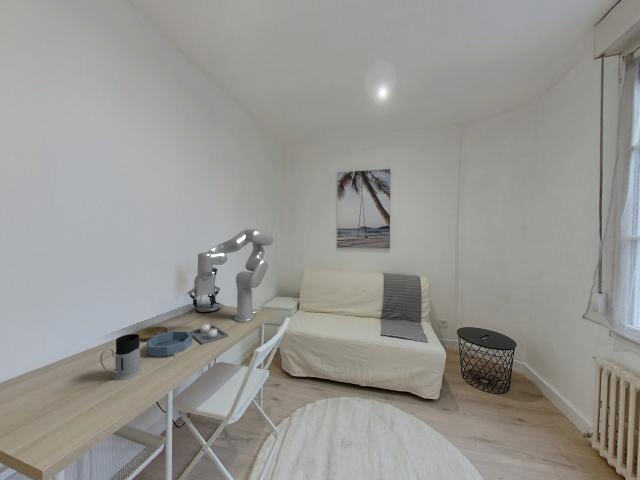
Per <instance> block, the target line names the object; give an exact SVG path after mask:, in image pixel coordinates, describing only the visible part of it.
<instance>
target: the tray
mask: <svg viewBox="0 0 640 480" xmlns="http://www.w3.org/2000/svg"><path fill="white" fill-rule="evenodd" d="M210 329H217V337H216V338H213V339H210V340H208V339H207V334H201V333H200V328H198V329H197V328H196V329H194V330H189V331H188V332H189V333H190V334H191V335H192V338H194V339H195V340H196V341H197V342H198V343H199V344H201V345H206V344H208V343H212V342H215V341H219V340H222V339H225V338H229V334H228V333H227V332H225V331H224V330H222V329H221V328H219V327H218V326H216V325H215V324H212V325H210Z"/></svg>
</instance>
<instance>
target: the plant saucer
mask: <svg viewBox="0 0 640 480" xmlns="http://www.w3.org/2000/svg"><path fill="white" fill-rule="evenodd" d="M168 330H169V329H168V327H165V326H153V327H148V328H147V327H146V328H144V329H141V330H140V331H138V332H136V333H135V334H138V335H139V341H146V342H147V341H149V340H150V339H152V338H153V337H155V336H156V335H158V334H157V332H158V331H163V332H164V333H167V332H169V331H168Z"/></svg>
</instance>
